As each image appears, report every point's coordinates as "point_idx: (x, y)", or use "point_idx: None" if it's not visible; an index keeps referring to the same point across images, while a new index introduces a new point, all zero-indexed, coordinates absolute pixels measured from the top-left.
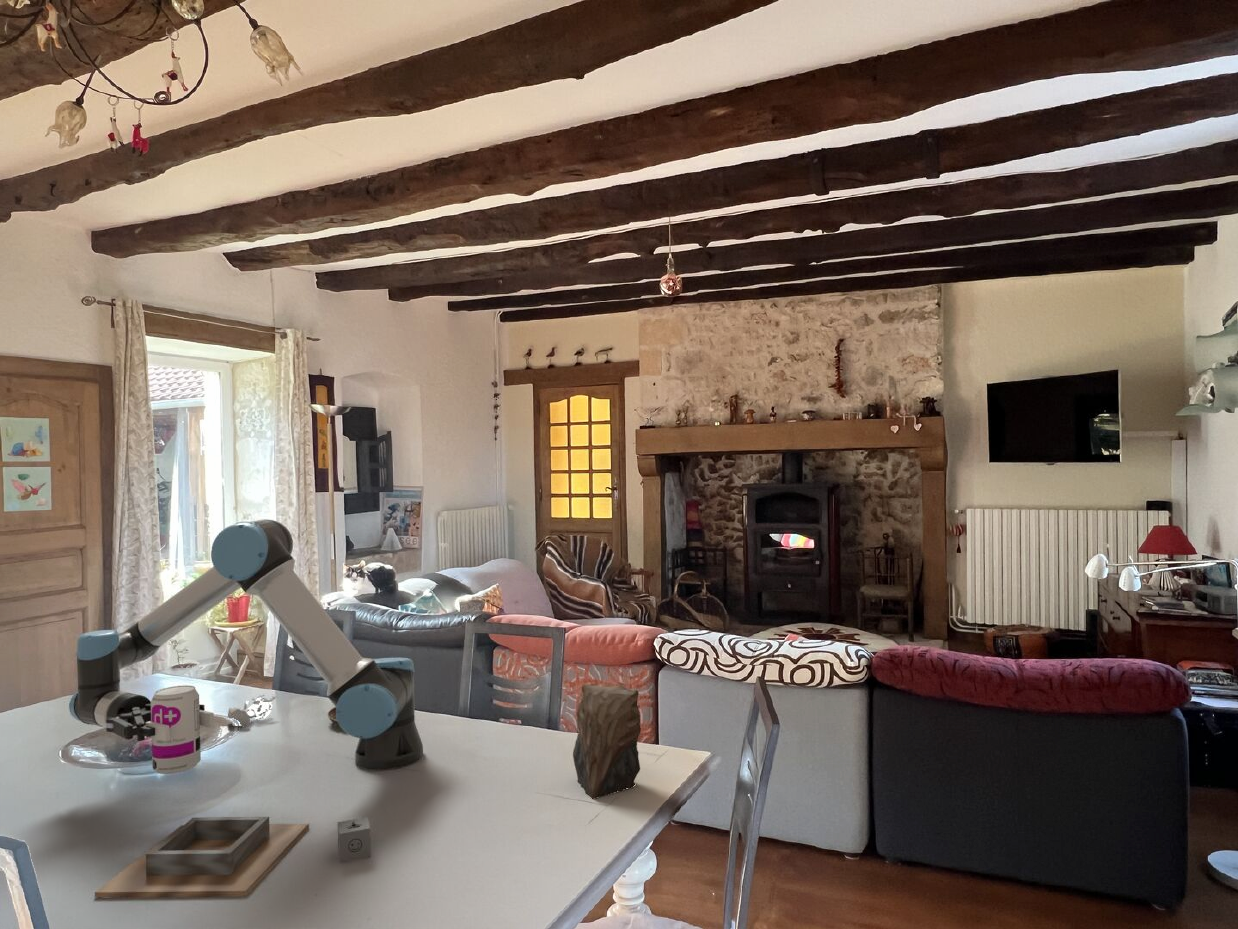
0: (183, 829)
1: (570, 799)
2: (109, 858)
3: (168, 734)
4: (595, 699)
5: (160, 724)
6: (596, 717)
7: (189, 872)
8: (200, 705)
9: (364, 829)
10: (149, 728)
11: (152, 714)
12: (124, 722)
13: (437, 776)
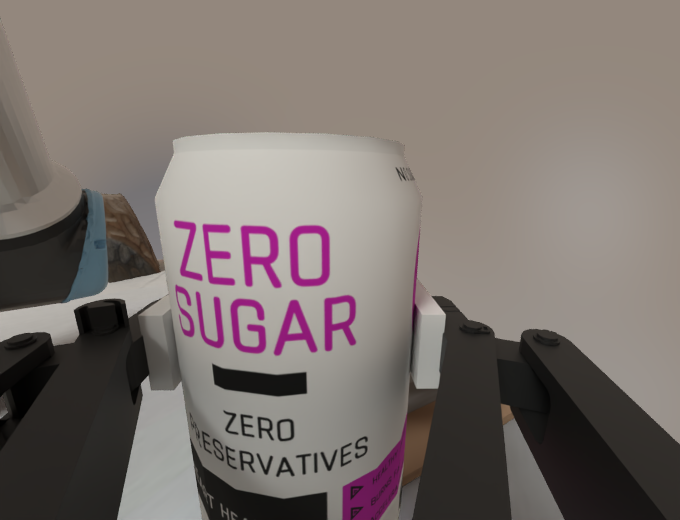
0: (410, 373)
1: (160, 276)
2: (536, 514)
3: None
4: (117, 202)
5: None
6: (131, 214)
7: None
8: (33, 336)
9: None
10: (440, 301)
11: (417, 261)
12: (610, 417)
13: (61, 344)
